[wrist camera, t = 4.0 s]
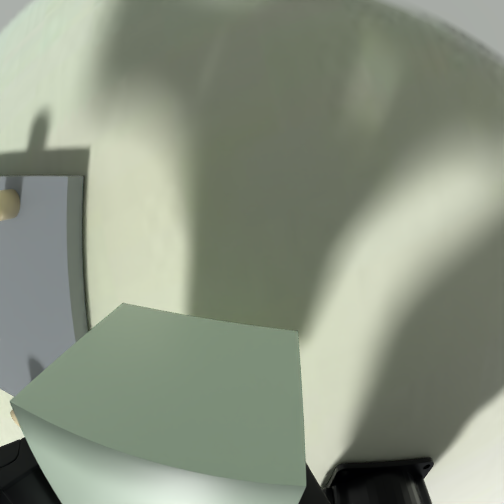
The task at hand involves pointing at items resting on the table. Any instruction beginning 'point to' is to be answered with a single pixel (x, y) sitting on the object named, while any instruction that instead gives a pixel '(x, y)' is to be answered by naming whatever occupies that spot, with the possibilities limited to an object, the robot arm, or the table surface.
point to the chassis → (39, 274)
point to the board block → (170, 413)
